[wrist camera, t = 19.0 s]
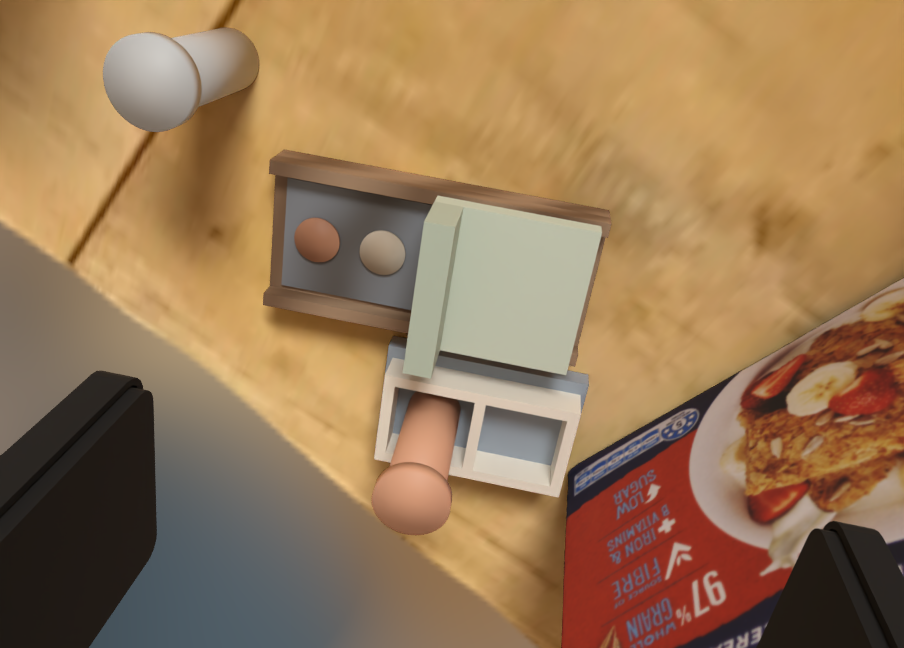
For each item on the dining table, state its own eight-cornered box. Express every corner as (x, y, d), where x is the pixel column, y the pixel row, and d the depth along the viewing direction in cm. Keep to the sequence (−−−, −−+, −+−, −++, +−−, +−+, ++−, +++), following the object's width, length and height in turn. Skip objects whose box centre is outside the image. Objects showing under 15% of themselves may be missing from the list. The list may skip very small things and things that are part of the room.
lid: (601, 226, 38) (604, 255, 34) (566, 366, 41) (566, 406, 37) (437, 195, 38) (424, 221, 34) (416, 336, 41) (402, 373, 38)
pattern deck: (609, 210, 40) (611, 224, 38) (574, 347, 43) (574, 366, 41) (284, 149, 41) (269, 160, 39) (276, 288, 44) (263, 304, 42)
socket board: (588, 374, 44) (589, 404, 41) (561, 474, 47) (561, 508, 44) (392, 335, 44) (381, 362, 42) (379, 436, 48) (367, 467, 45)
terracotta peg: (471, 385, 44) (453, 479, 36) (463, 440, 45) (446, 540, 38) (404, 375, 44) (373, 466, 37) (399, 430, 46) (369, 528, 38)
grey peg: (266, 23, 38) (190, 40, 31) (267, 103, 40) (195, 137, 32) (191, 14, 38) (98, 28, 31) (195, 94, 40) (107, 125, 32)
